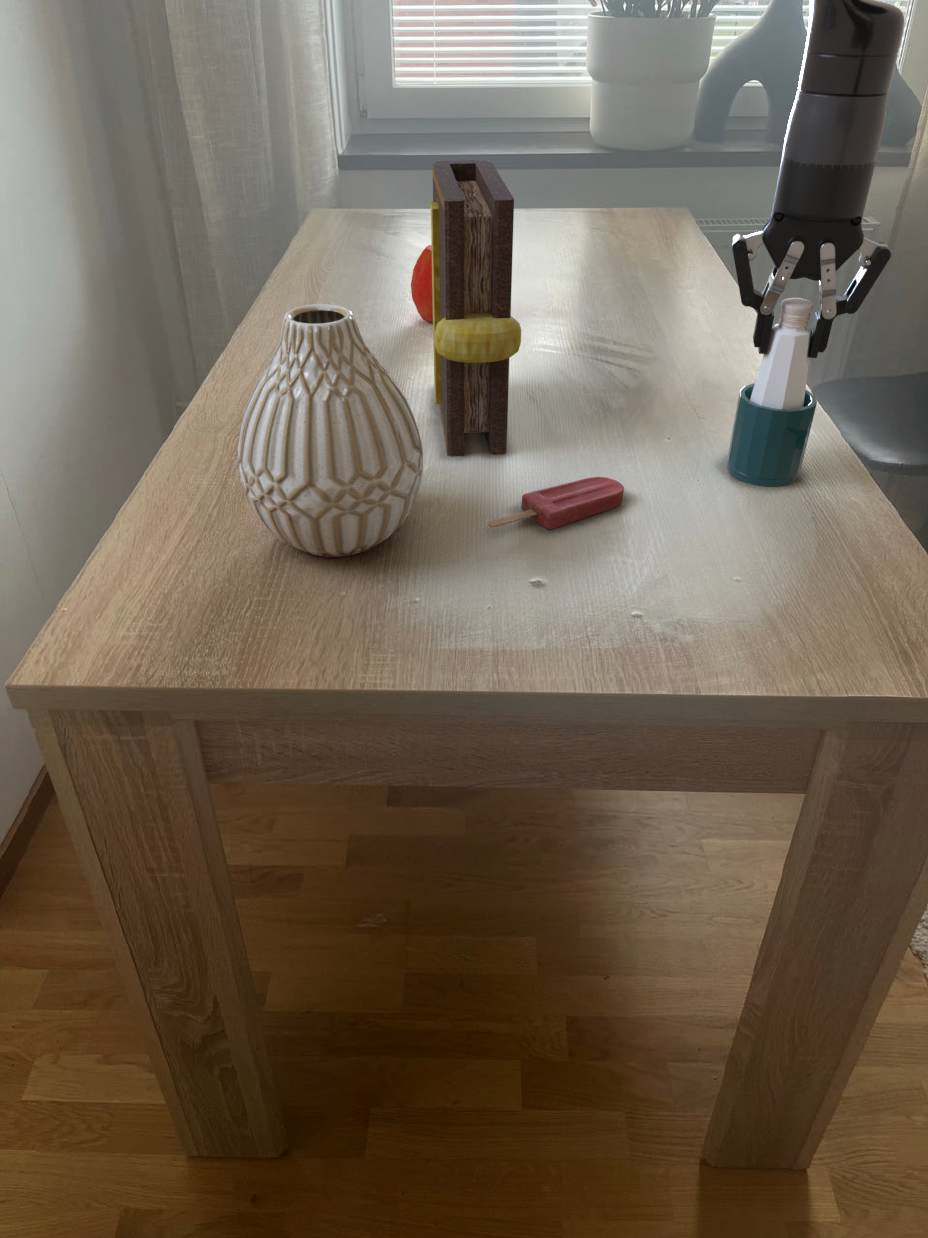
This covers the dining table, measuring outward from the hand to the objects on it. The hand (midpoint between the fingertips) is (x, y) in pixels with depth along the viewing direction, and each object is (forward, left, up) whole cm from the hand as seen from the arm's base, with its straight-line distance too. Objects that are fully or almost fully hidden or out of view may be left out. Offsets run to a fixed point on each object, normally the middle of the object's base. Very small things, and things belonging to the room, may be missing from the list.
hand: (787, 352), depth 87 cm
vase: (+29, +33, -13) cm, 46 cm away
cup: (0, 0, -12) cm, 12 cm away
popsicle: (+14, +19, -13) cm, 27 cm away
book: (+32, +6, -13) cm, 35 cm away
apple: (+55, -22, -13) cm, 60 cm away
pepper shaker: (0, 0, -6) cm, 6 cm away
